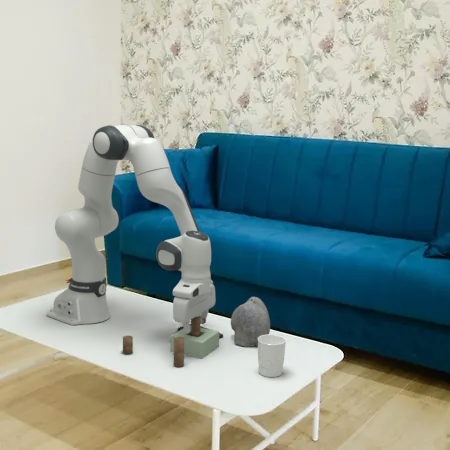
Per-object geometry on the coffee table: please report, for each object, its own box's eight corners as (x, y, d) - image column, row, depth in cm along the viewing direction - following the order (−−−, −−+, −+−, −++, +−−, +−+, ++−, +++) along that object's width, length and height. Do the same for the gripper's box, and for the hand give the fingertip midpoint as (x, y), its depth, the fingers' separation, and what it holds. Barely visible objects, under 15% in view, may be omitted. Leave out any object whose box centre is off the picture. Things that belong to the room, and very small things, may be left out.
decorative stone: (220, 341, 201) (221, 296, 198) (238, 331, 209) (240, 288, 206) (260, 352, 192) (262, 305, 190) (277, 342, 201) (279, 297, 198)
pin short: (120, 353, 189) (120, 337, 188) (126, 350, 192) (126, 334, 191) (128, 355, 188) (128, 339, 187) (134, 352, 190) (134, 336, 189)
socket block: (170, 351, 191) (170, 335, 191) (188, 339, 201) (188, 325, 200) (201, 358, 187) (202, 342, 186) (219, 346, 196) (219, 331, 195)
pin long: (188, 349, 193) (189, 312, 191) (193, 346, 196) (194, 309, 194) (197, 351, 192) (197, 314, 190) (201, 348, 195) (202, 311, 192)
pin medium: (171, 366, 181) (172, 339, 179) (176, 362, 183) (176, 336, 182) (181, 367, 180) (181, 340, 178) (185, 364, 183) (185, 337, 181)
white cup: (289, 372, 179) (291, 339, 177) (273, 381, 173) (274, 346, 171) (268, 364, 184) (269, 332, 182) (250, 372, 178) (252, 339, 176)
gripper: (203, 275, 200) (202, 316, 203) (169, 291, 182) (168, 336, 185) (220, 278, 198) (219, 319, 200) (188, 295, 180) (187, 340, 182)
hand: (195, 328), depth 193 cm, fingers open, 8 cm apart
